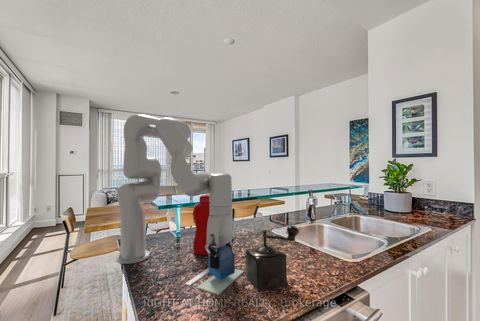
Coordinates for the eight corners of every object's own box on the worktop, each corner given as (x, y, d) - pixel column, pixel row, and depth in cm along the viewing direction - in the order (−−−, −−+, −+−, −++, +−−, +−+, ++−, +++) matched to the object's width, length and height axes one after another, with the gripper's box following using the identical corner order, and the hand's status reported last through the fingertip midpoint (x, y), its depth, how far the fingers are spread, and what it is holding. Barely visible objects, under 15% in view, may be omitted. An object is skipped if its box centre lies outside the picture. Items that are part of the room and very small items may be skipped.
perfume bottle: (222, 267, 80) (222, 233, 80) (234, 272, 76) (234, 237, 76) (208, 273, 76) (208, 237, 76) (220, 279, 71) (220, 241, 72)
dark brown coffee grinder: (259, 293, 67) (258, 232, 68) (245, 276, 78) (244, 223, 78) (302, 282, 73) (301, 226, 73) (283, 268, 83) (282, 219, 84)
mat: (197, 288, 71) (197, 287, 71) (224, 267, 85) (224, 266, 85) (218, 295, 67) (218, 293, 67) (243, 272, 81) (243, 270, 81)
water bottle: (200, 246, 107) (199, 193, 108) (219, 249, 102) (218, 194, 103) (187, 252, 99) (186, 195, 100) (207, 257, 94) (206, 197, 94)
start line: (185, 284, 73) (185, 283, 73) (213, 264, 87) (213, 264, 87) (189, 285, 72) (189, 285, 72) (218, 265, 86) (218, 265, 86)
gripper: (225, 205, 86) (226, 252, 85) (195, 214, 70) (195, 271, 70) (242, 206, 82) (243, 255, 82) (215, 216, 67) (215, 277, 66)
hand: (221, 262), depth 76 cm, fingers closed on perfume bottle, 7 cm apart
